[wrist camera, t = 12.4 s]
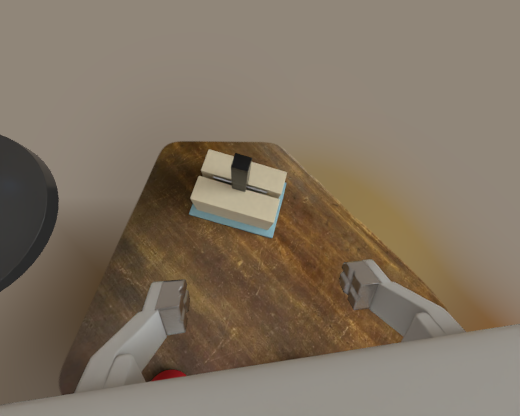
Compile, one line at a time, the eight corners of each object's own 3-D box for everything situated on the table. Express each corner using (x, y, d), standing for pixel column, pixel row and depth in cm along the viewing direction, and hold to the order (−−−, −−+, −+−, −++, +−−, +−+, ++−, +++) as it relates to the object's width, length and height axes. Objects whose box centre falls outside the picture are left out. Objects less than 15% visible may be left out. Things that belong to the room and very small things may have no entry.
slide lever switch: (189, 214, 38) (180, 203, 31) (209, 161, 40) (204, 141, 34) (271, 238, 38) (279, 231, 32) (285, 184, 41) (295, 168, 34)
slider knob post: (214, 195, 38) (204, 159, 26) (218, 186, 39) (209, 145, 26) (261, 209, 38) (273, 179, 26) (264, 199, 39) (277, 165, 26)
